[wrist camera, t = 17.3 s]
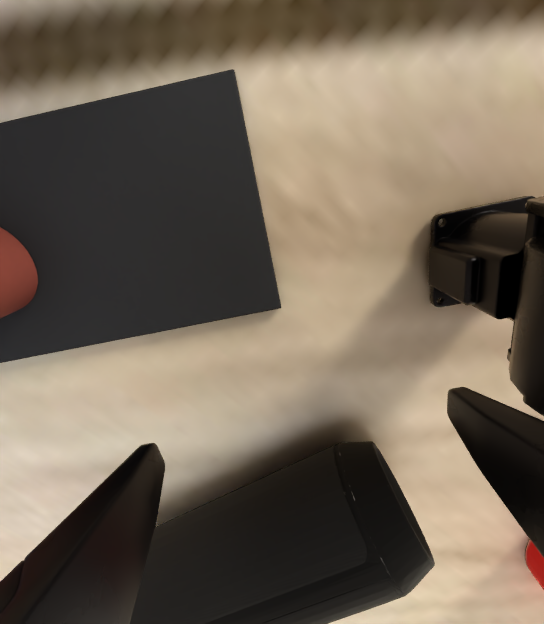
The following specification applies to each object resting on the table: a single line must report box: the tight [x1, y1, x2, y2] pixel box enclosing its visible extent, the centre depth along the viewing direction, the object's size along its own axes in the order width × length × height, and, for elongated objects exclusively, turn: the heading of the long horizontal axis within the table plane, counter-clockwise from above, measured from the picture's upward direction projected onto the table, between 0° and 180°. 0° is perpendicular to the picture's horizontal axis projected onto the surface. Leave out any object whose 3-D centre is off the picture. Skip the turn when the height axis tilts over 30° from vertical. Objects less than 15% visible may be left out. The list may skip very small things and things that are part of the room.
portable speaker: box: [130, 442, 435, 624], centre depth 24 cm, size 26×10×10 cm, turn 121°
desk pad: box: [0, 69, 281, 363], centre depth 19 cm, size 24×14×1 cm, turn 101°
